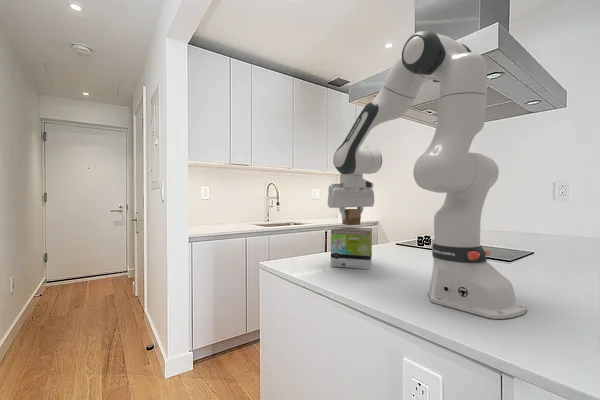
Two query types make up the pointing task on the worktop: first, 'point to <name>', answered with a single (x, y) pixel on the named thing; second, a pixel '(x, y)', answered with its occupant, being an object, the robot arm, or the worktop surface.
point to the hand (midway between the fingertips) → (351, 219)
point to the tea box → (351, 247)
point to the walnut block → (352, 217)
